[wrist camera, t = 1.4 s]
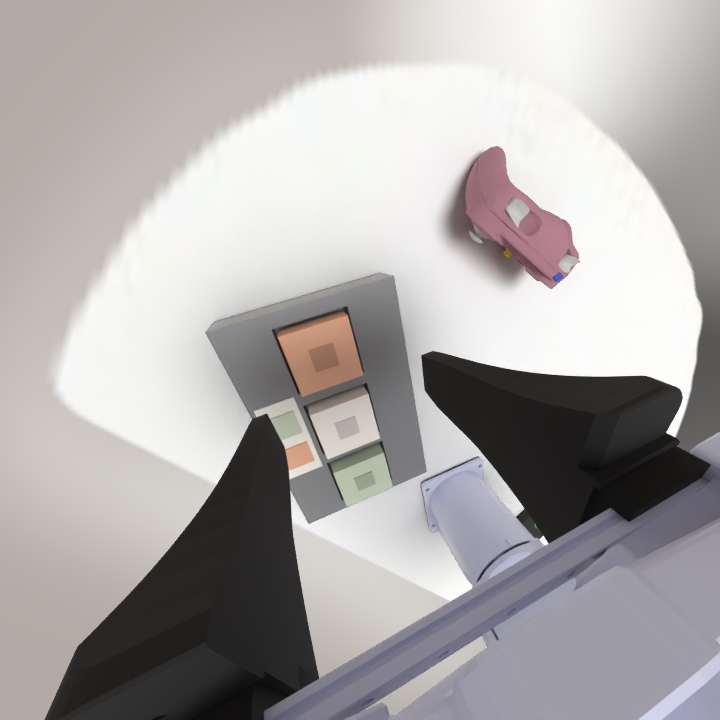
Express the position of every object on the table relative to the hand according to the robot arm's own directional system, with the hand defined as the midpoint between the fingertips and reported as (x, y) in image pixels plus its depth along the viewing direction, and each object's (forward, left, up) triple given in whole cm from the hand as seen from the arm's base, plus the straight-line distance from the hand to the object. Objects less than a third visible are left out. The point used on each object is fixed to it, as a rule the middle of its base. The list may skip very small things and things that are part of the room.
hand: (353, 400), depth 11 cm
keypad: (-6, 0, -9) cm, 11 cm away
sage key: (-12, 0, -7) cm, 14 cm away
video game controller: (+4, -16, -10) cm, 19 cm away
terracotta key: (0, 0, -7) cm, 7 cm away
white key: (-6, 0, -7) cm, 10 cm away
